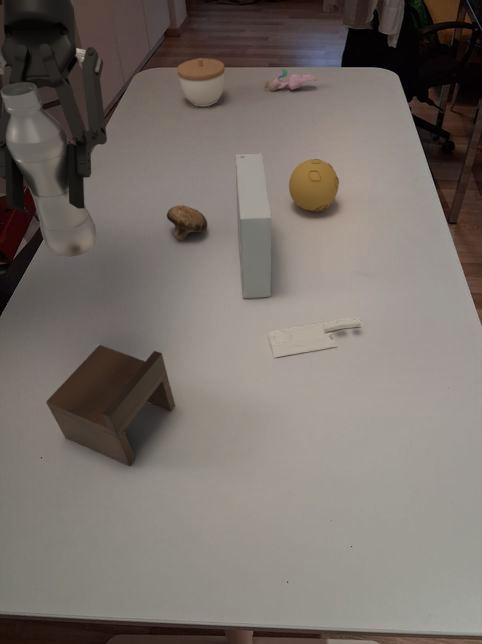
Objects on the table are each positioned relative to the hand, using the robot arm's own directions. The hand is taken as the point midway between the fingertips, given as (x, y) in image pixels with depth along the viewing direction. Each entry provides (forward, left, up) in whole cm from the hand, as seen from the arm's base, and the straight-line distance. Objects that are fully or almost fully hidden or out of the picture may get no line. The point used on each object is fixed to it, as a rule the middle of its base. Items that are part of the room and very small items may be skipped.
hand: (46, 206), depth 61 cm
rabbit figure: (-17, +108, -29) cm, 113 cm away
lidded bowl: (-36, +92, -29) cm, 103 cm away
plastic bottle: (-2, +3, -9) cm, 9 cm away
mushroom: (-7, +36, -29) cm, 47 cm away
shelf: (+8, -7, -28) cm, 30 cm away
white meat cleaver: (+27, +19, -28) cm, 43 cm away
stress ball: (+12, +54, -29) cm, 62 cm away
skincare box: (+9, +33, -29) cm, 45 cm away
